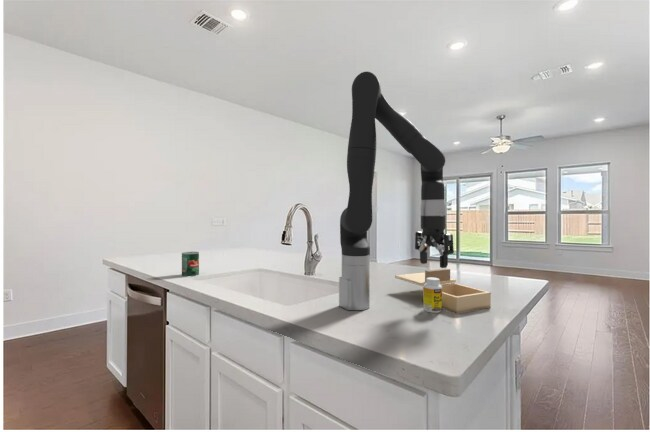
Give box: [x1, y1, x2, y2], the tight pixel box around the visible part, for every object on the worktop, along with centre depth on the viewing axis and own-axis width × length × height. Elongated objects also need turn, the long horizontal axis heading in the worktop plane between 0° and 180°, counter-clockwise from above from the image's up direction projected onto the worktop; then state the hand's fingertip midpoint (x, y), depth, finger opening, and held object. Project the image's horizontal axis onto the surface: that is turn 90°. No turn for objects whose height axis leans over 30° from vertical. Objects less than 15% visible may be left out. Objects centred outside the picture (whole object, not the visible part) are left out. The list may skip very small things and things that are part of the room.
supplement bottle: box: [422, 277, 443, 314], centre depth 103 cm, size 6×6×10 cm
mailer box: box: [422, 282, 492, 315], centre depth 110 cm, size 15×15×5 cm
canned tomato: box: [181, 251, 200, 277], centre depth 159 cm, size 8×8×11 cm
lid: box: [394, 267, 457, 287], centre depth 123 cm, size 16×16×5 cm
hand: (433, 265), depth 103 cm, fingers open, 8 cm apart
